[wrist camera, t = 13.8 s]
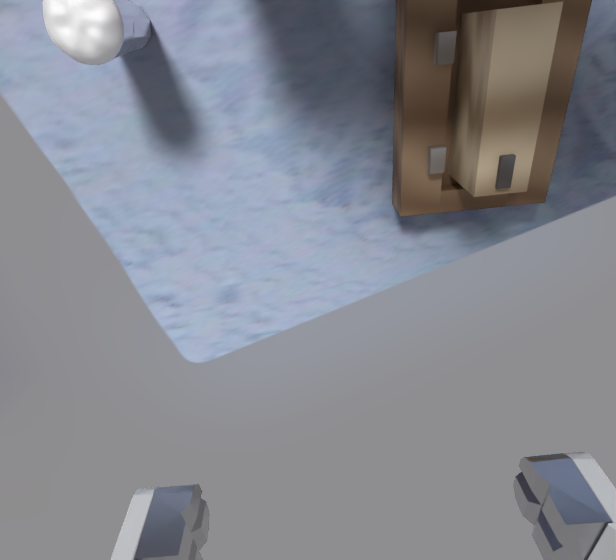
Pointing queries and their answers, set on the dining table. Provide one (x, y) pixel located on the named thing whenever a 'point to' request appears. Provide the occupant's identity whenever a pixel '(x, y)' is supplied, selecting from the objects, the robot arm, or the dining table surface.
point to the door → (501, 96)
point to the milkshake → (96, 28)
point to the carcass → (441, 95)
